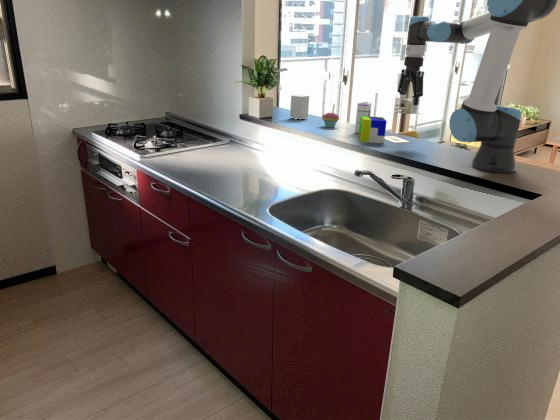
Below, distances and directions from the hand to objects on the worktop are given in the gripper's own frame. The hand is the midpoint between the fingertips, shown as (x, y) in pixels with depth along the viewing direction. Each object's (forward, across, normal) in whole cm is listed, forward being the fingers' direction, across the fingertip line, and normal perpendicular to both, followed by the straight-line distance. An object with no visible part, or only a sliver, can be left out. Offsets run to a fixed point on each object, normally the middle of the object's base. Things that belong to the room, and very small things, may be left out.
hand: (407, 111), depth 207 cm
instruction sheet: (+15, -14, +3) cm, 20 cm away
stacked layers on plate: (+1, 0, 0) cm, 1 cm away
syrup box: (+15, -31, -5) cm, 34 cm away
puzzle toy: (+15, -13, -9) cm, 22 cm away
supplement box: (+14, -68, -25) cm, 73 cm away
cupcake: (+15, -45, -16) cm, 50 cm away
